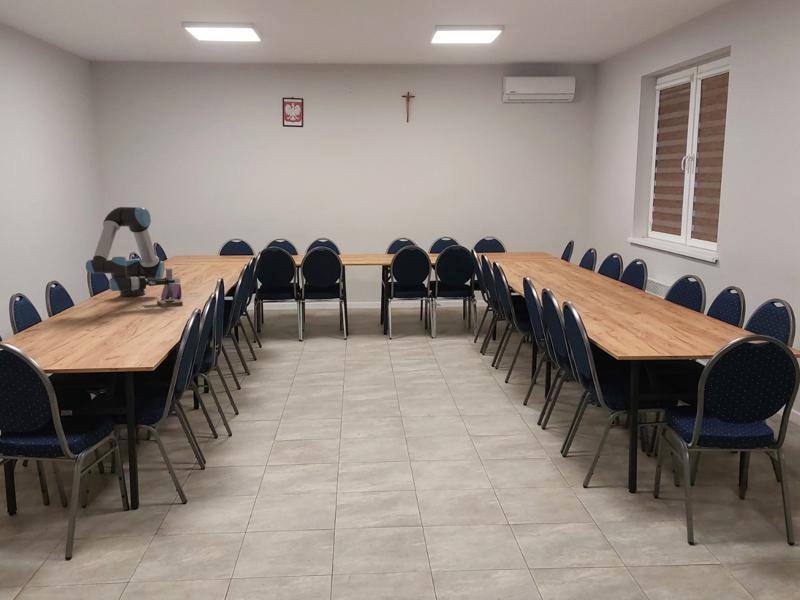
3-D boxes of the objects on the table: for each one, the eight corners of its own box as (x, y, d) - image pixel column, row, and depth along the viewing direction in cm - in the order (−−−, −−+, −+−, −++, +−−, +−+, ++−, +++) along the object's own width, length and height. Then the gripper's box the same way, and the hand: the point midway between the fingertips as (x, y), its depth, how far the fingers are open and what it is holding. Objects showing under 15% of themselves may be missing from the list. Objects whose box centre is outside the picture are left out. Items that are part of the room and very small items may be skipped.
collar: (157, 304, 435) (157, 300, 435) (177, 303, 441) (177, 299, 441) (162, 307, 425) (161, 303, 425) (182, 306, 431) (182, 301, 431)
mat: (141, 306, 430) (141, 305, 430) (155, 304, 435) (155, 304, 435) (145, 308, 422) (145, 308, 422) (159, 307, 426) (159, 306, 426)
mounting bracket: (177, 311, 446) (182, 294, 461) (175, 300, 442) (180, 283, 456) (161, 311, 446) (166, 294, 460) (159, 300, 441) (164, 283, 455)
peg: (166, 296, 433) (165, 268, 430) (172, 296, 435) (171, 268, 432) (168, 297, 430) (166, 269, 427) (173, 297, 432) (172, 268, 429)
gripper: (135, 287, 429) (175, 285, 441) (141, 291, 415) (182, 288, 427) (134, 275, 428) (174, 272, 440) (140, 278, 414) (182, 275, 426)
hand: (178, 280), depth 434 cm, fingers closed on peg, 3 cm apart
